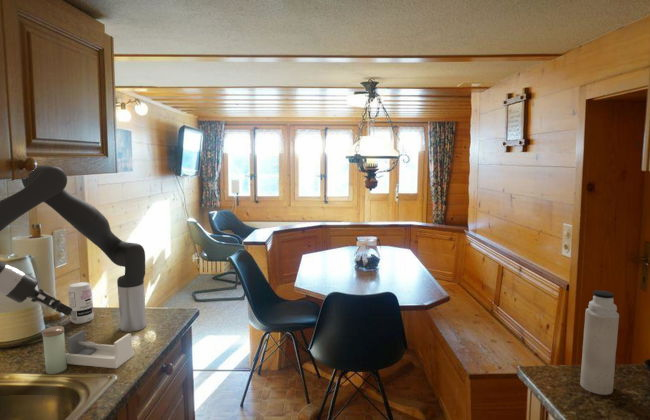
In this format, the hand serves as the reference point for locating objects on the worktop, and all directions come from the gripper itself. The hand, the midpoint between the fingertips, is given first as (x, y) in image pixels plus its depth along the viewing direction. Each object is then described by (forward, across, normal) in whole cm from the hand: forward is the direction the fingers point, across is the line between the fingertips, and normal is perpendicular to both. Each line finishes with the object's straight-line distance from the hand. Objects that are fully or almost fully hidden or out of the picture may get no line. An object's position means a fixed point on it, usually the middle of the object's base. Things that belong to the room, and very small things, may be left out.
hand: (66, 311), depth 132 cm
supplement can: (+20, +50, -1) cm, 54 cm away
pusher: (+16, +13, +8) cm, 23 cm away
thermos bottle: (+106, -106, -43) cm, 156 cm away
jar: (+11, +11, +16) cm, 22 cm away
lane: (+20, +10, +8) cm, 23 cm away
